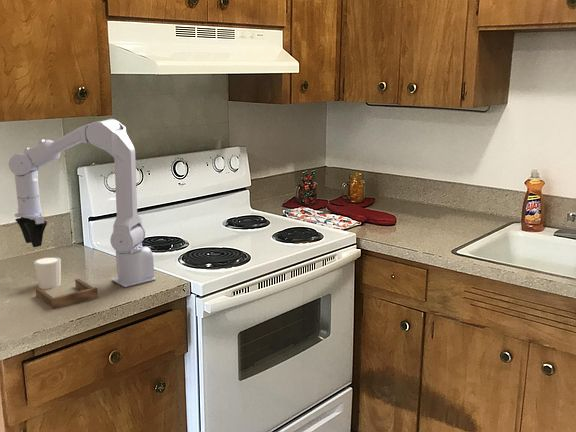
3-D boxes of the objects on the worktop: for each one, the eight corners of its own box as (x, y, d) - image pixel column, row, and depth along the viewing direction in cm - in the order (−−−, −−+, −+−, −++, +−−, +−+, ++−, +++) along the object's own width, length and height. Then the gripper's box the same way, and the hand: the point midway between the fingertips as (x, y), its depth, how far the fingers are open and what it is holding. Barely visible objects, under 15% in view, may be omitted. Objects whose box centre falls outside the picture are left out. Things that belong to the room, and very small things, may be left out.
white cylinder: (40, 291, 165) (37, 266, 163) (33, 284, 170) (30, 259, 169) (66, 285, 169) (64, 261, 167) (58, 279, 174) (56, 255, 172)
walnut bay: (79, 285, 169) (78, 276, 168) (98, 297, 160) (97, 288, 159) (36, 296, 161) (35, 286, 161) (53, 308, 153) (52, 299, 152)
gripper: (4, 194, 174) (10, 241, 177) (22, 202, 163) (28, 252, 166) (30, 191, 178) (35, 237, 182) (49, 198, 168) (54, 247, 171)
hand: (33, 244), depth 174 cm, fingers open, 5 cm apart
